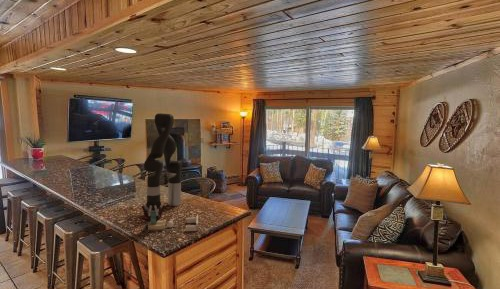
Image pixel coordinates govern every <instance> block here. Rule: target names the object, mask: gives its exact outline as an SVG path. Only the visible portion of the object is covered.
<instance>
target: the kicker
mask: <svg viewBox="0 0 500 289" xmlns="http://www.w3.org/2000/svg"><path fill="white" fill-rule="evenodd" d="M166 224H167V219H165V218H164V219H163V220H160V219H159V220H158V221H157V222H156V212H155V211H151V222H150V221H149V225H148V228H147V230H159V229H166V226H167V225H166Z"/></svg>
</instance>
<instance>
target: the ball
mask: <svg viewBox="0 0 500 289" xmlns="http://www.w3.org/2000/svg"><path fill="white" fill-rule="evenodd" d="M166 224H167V225H166V227H168V228H172V227H174V226H175V225H174V224H175V223H174V221H173V220H169V221H166Z"/></svg>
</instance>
